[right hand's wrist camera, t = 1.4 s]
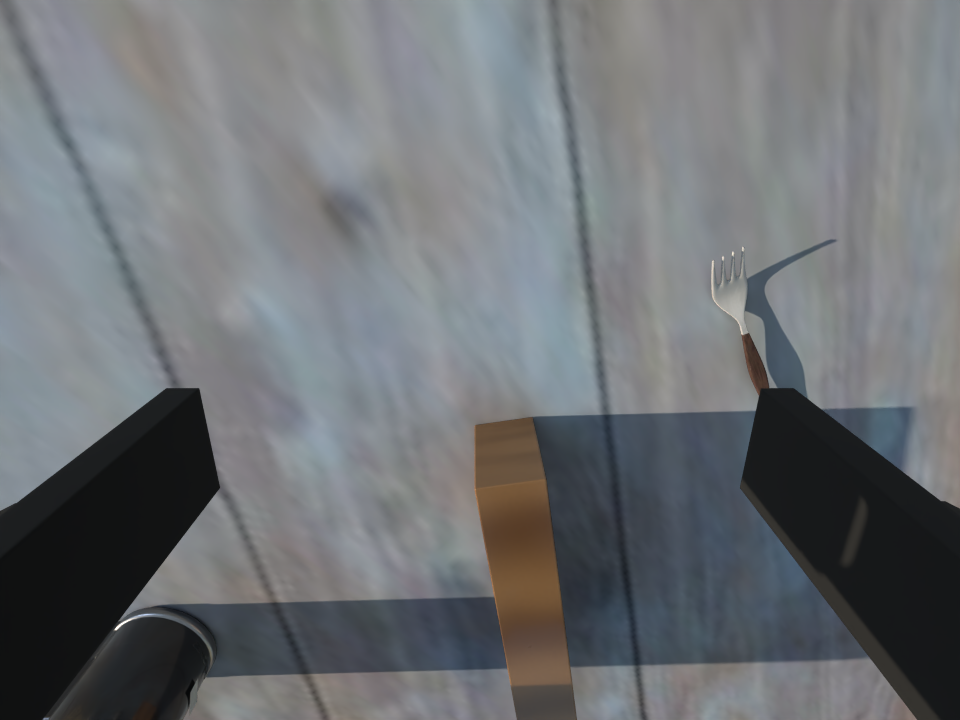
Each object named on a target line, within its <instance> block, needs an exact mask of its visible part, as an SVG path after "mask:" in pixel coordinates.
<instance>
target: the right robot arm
mask: <svg viewBox="0 0 960 720" xmlns="http://www.w3.org/2000/svg"><path fill="white" fill-rule="evenodd" d="M219 489H220V485H219V481H218V476H217V471H216V466H215V461H214V457H213V452H212V447H211V442H210V438H209V433H208V428H207V423H206V419H205V414H204V409H203V404H202V400H201V395H200V390H199V388H166V389H165V390H164V391H162V392H161V393H160V394H158V395H157V396H156V397H154V398H153V399H152V400H150V401H149V402H148V403H147V404H145V405H144V406H143V407H141V408H140V409H139V410H137V411H136V412H135V413H134V414H132V415H131V416H130V417H128V418H127V419H126V420H124V421H123V422H122V423H120V424H119V425H118V426H117V427H115V428H114V429H113V430H111V431H110V432H109V433H107V434H106V435H105V436H104V437H102V438H101V439H100V440H98V441H97V442H96V443H94V444H93V445H92V446H91V447H89V448H88V449H87V450H85V451H84V452H83V453H81V454H80V455H79V456H77V457H76V458H75V459H74V460H72V461H71V462H70V463H68V464H67V465H66V466H64V467H63V468H62V469H61V470H59V471H58V472H57V473H55V474H54V475H53V476H51V477H50V478H49V479H47V480H46V481H45V482H44V483H42V484H41V485H40V486H38V487H37V488H36V489H34V490H33V491H32V492H31V493H29V494H28V495H27V496H25V497H24V498H23V499H21V500H20V501H19V502H17V503H15V504H13V505H11V506H9V507H7V508H5V509H3V510H1V511H0V720H43V719H44V717H45V716H46V715H47V713H48V712H49V711H50V710H51V708H52V707H53V706H54V704H55V703H56V702H57V700H58V699H59V698H60V696H61V695H62V694H63V693H64V691H65V690H66V689H67V687H68V686H69V685H70V683H71V682H72V681H73V679H74V678H75V677H76V676H77V674H78V673H79V672H80V670H81V669H82V668H83V666H84V665H85V664H86V662H87V661H88V660H89V659H90V657H91V656H92V655H93V653H94V652H95V651H96V649H97V648H98V647H99V645H100V644H101V643H102V642H103V640H104V639H105V638H106V636H107V635H108V634H109V632H110V631H111V630H112V628H113V627H114V626H115V625H116V623H117V622H118V621H119V619H120V618H121V617H122V615H123V614H124V613H125V611H126V610H127V609H128V608H129V606H130V605H131V604H132V602H133V601H134V600H135V598H136V597H137V596H138V594H139V593H140V592H141V591H142V589H143V588H144V587H145V585H146V584H147V583H148V581H149V580H150V579H151V577H152V576H153V575H154V574H155V572H156V571H157V570H158V568H159V567H160V566H161V564H162V563H163V562H164V560H165V559H166V558H167V557H168V555H169V554H170V553H171V551H172V550H173V549H174V547H175V546H176V545H177V543H178V542H179V541H180V540H181V538H182V537H183V536H184V534H185V533H186V532H187V530H188V529H189V528H190V526H191V525H192V524H193V523H194V521H195V520H196V519H197V517H198V516H199V515H200V513H201V512H202V511H203V509H204V508H205V507H206V506H207V504H208V503H209V502H210V500H211V499H212V498H213V496H214V495H215V494H216V492H217V491H218V490H219ZM740 489H741V490H742V491H743V492H744V494H745V495H746V496H747V498H748V499H749V500H750V502H751V503H752V504H753V506H754V507H755V508H756V509H757V511H758V512H759V513H760V515H761V516H762V517H763V519H764V520H765V521H766V523H767V524H768V525H769V526H770V528H771V529H772V530H773V532H774V533H775V534H776V536H777V537H778V538H779V540H780V541H781V542H782V543H783V545H784V546H785V547H786V549H787V550H788V551H789V553H790V554H791V555H792V557H793V558H794V559H795V560H796V562H797V563H798V564H799V566H800V567H801V568H802V570H803V571H804V572H805V574H806V575H807V576H808V577H809V579H810V580H811V581H812V583H813V584H814V585H815V587H816V588H817V589H818V591H819V592H820V593H821V594H822V596H823V597H824V598H825V600H826V601H827V602H828V604H829V605H830V606H831V608H832V609H833V610H834V611H835V613H836V614H837V615H838V617H839V618H840V619H841V621H842V622H843V623H844V625H845V626H846V627H847V628H848V630H849V631H850V632H851V634H852V635H853V636H854V638H855V639H856V640H857V642H858V643H859V644H860V645H861V647H862V648H863V649H864V651H865V652H866V653H867V655H868V656H869V657H870V659H871V660H872V661H873V662H874V664H875V665H876V666H877V668H878V669H879V670H880V672H881V673H882V674H883V676H884V677H885V678H886V679H887V681H888V682H889V683H890V685H891V686H892V687H893V689H894V690H895V691H896V693H897V694H898V695H899V696H900V698H901V699H902V700H903V702H904V703H905V704H906V706H907V707H908V708H909V710H910V711H911V712H912V713H913V715H914V716H915V717H916V719H917V720H960V509H959V508H957V507H955V506H953V505H951V504H949V503H948V502H946V501H940V500H939V499H937V498H936V497H935V496H933V495H932V494H931V493H929V492H928V491H927V490H926V489H924V488H923V487H922V486H920V485H919V484H918V483H916V482H915V481H914V480H913V479H911V478H910V477H909V476H907V475H906V474H905V473H903V472H902V471H901V470H899V469H898V468H897V467H896V466H894V465H893V464H892V463H890V462H889V461H888V460H886V459H885V458H884V457H883V456H881V455H880V454H879V453H877V452H876V451H875V450H873V449H872V448H871V447H869V446H868V445H867V444H866V443H864V442H863V441H862V440H860V439H859V438H858V437H856V436H855V435H854V434H853V433H851V432H850V431H849V430H847V429H846V428H845V427H843V426H842V425H841V424H840V423H838V422H837V421H836V420H834V419H833V418H832V417H830V416H829V415H828V414H826V413H825V412H824V411H823V410H821V409H820V408H819V407H817V406H816V405H815V404H813V403H812V402H811V401H810V400H808V399H807V398H806V397H804V396H803V395H802V394H800V393H799V392H798V391H796V390H795V389H794V388H761V390H760V395H759V400H758V404H757V409H756V414H755V419H754V423H753V428H752V433H751V438H750V442H749V447H748V452H747V457H746V461H745V466H744V471H743V476H742V481H741V485H740Z"/></svg>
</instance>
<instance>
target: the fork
mask: <svg viewBox="0 0 960 720" xmlns="http://www.w3.org/2000/svg"><path fill="white" fill-rule="evenodd" d="M744 249H745V248H744V247H742V255H741V265H740V275H739V276H738V277H737V276H736V273H735V261H734V252H732V260H731V276H730V280H729V281H727V280H726V274H725V263H724V256H722V267H721V283H720V284H719V285H717V282H716V275H715V266H714V260H713V261H712V297H713V299H714V301H715V303H716V304H717V305H718V306H719V307H720V308H721V309H722V310H724V311H725V312H727V313H728V314H729V315H731V316H732V317H733V318H735V319H736V320H737V322H738V323H739V326H740V329H741V334H742V340H743V346H744V352H745V357H746V363H747V367H748V371H749V374H750V377H751V380H752V382H753V384H754V386H755V388H756V390H757V393H758V395H760V390H761V388H769V383H768V378H767V374H766V370H765V368H764V365H763V362H762V360H761V358H760V356H759V354H758V351H757V349H756V347H755V345H754V343H753V341H752V339H751V336H750V334H749V332H748V330H747V327H746V325H745V320H744V312H745V306H746V300H747V292H748V283H747V277H746V272H745V259H744Z"/></svg>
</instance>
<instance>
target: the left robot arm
mask: <svg viewBox="0 0 960 720" xmlns="http://www.w3.org/2000/svg"><path fill="white" fill-rule="evenodd" d="M216 652H217V650H216V644H215V641H214V638H213V636H212V635H211V633H210V632H209V631H208V629H207V628H206V627H205V626H204V625H203V624H202V623H200V622H199V621H198V620H196V619H195V618H193V617H191V616H190V615H188V614H185V613H183V612H180V611H177V610H174V609H169V608H161V607H152V608H144V609H140V610H137V611H135V612H132V613H130V614H129V615H127V616H126V617H125V618H124V619H123V620H122V621H120V622H117V623H116V625H115V626H114V627H113V628H112V630H111V631H110V632H109V634H108V635H107V636H106V638H105V639H104V640H103V642H102V643H101V644H100V645H99V647H98V648H97V649H96V651H95V652H94V653H93V655H92V656H91V657H90V659H89V660H88V661H87V662H86V664H85V665H84V666H83V668H82V669H81V670H80V672H79V673H78V674H77V676H76V677H75V678H74V679H73V681H72V682H71V683H70V685H69V686H68V687H67V689H66V690H65V691H64V693H63V694H62V695H61V696H60V698H59V699H58V700H57V702H56V703H55V704H54V706H53V707H52V708H51V710H50V711H49V712H48V713H47V715H46V716H45V717H44V719H43V720H183V719H184V717H185V715H186V713H187V711H188V709H189V707H190V714H191V712H192V710H193V708H194V706H195V704H196V702H197V692H198V690H199V688H200V686H201V684H202V682H203V680H204V679H205V677H206V676H207V674H208V673H209V671H210V669H211V667H212V665H213V663H214V661H215V658H216ZM189 716H190V715H189Z"/></svg>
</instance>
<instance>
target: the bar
mask: <svg viewBox="0 0 960 720" xmlns="http://www.w3.org/2000/svg"><path fill="white" fill-rule="evenodd" d="M475 494H476V499H477V505H478V510H479V516H480V521H481V527H482V532H483V537H484V543H485V548H486V554H487V559H488V565H489V570H490V576H491V581H492V586H493V592H494V597H495V603H496V608H497V614H498V619H499V624H500V630H501V635H502V641H503V646H504V652H505V657H506V663H507V668H508V673H509V679H510V684H511V690H512V695H513V701H514V706H515V712H516V717H517V720H577V716H576V708H575V701H574V693H573V685H572V677H571V669H570V661H569V653H568V645H567V637H566V630H565V622H564V614H563V606H562V598H561V590H560V582H559V574H558V567H557V559H556V551H555V543H554V535H553V527H552V519H551V511H550V503H549V496H548V488H547V480H546V475H545V471H544V466H543V462H542V457H541V453H540V448H539V444H538V439H537V435H536V430H535V426H534V421H533V418H532V417H530V418H523V419H516V420H509V421H502V422H495V423H487V424H480V425H475Z"/></svg>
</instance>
